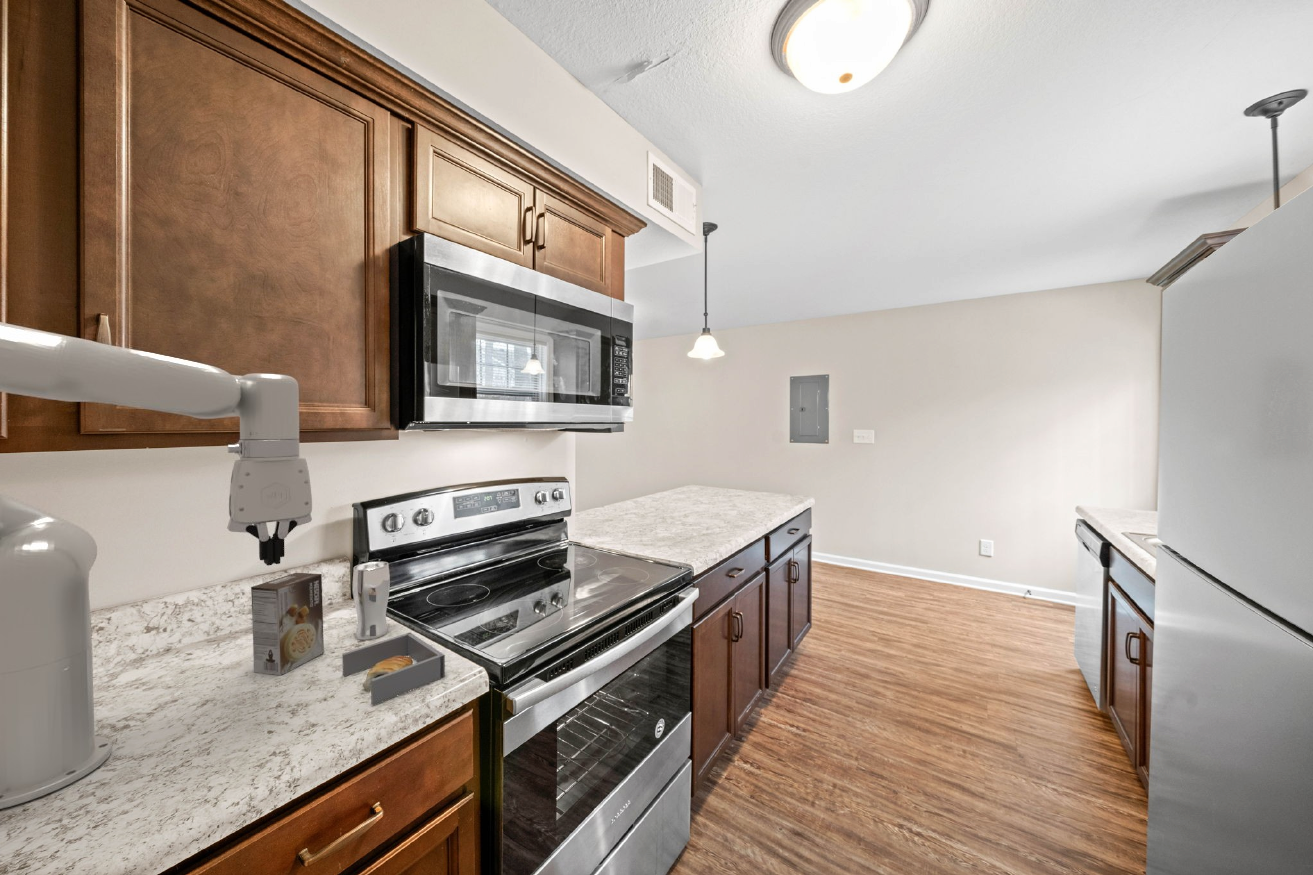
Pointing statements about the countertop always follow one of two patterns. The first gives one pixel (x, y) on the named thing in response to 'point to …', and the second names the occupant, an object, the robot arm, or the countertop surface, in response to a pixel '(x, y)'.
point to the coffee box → (287, 622)
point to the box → (402, 679)
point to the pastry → (386, 668)
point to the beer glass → (371, 599)
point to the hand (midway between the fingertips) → (272, 562)
